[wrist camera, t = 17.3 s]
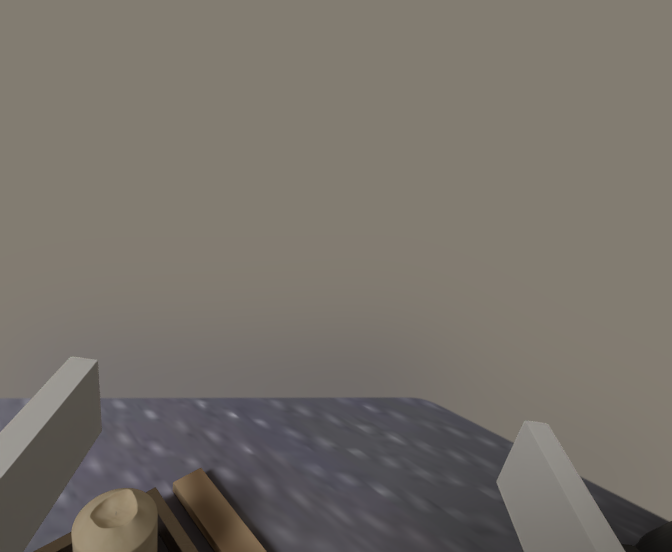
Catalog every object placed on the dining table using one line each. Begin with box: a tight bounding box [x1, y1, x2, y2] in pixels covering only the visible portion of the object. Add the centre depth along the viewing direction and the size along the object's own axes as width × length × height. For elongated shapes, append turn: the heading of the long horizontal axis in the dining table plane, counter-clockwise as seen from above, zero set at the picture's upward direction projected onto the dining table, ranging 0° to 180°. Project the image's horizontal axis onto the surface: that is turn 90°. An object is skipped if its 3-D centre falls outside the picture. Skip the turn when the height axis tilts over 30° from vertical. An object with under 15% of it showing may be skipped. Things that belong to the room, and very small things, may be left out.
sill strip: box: [173, 468, 266, 552], centre depth 41 cm, size 3×12×1 cm, turn 45°
